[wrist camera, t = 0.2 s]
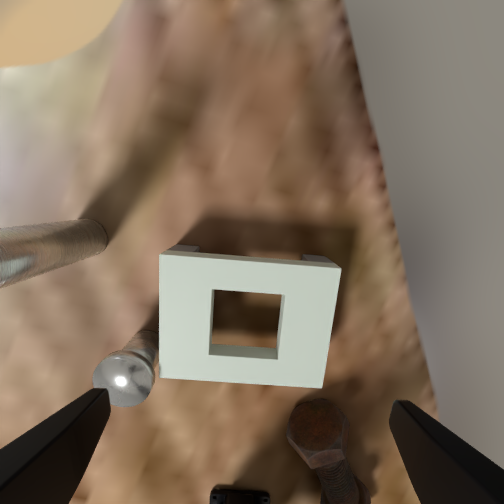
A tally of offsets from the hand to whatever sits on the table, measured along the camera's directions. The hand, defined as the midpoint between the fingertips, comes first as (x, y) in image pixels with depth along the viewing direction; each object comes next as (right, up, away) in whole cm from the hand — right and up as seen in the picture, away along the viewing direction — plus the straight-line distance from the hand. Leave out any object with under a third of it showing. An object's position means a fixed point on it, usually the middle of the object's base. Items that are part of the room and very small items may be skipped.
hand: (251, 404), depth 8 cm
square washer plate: (0, 0, +15) cm, 15 cm away
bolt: (+8, -17, +19) cm, 27 cm away
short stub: (-10, -4, +15) cm, 19 cm away
